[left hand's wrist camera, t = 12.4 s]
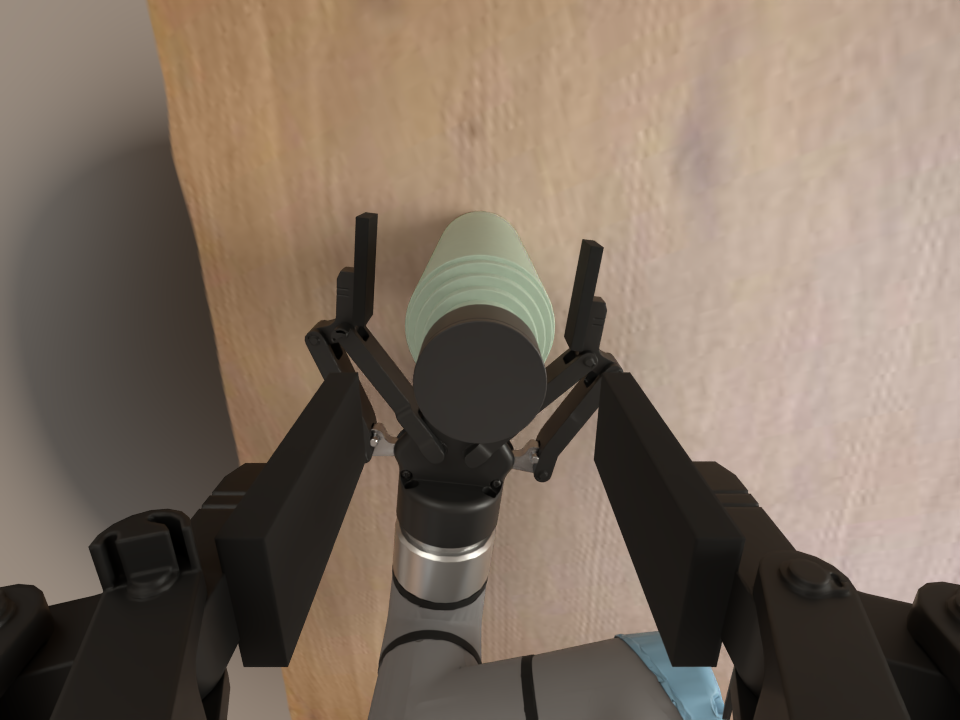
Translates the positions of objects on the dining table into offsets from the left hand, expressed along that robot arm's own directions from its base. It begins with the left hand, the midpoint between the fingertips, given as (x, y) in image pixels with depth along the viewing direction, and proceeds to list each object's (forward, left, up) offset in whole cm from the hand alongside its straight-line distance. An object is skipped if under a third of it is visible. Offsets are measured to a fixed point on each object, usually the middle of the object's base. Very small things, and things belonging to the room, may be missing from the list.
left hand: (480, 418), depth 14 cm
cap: (0, 0, -2) cm, 2 cm away
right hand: (-3, 0, -19) cm, 19 cm away
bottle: (0, 0, -26) cm, 26 cm away
